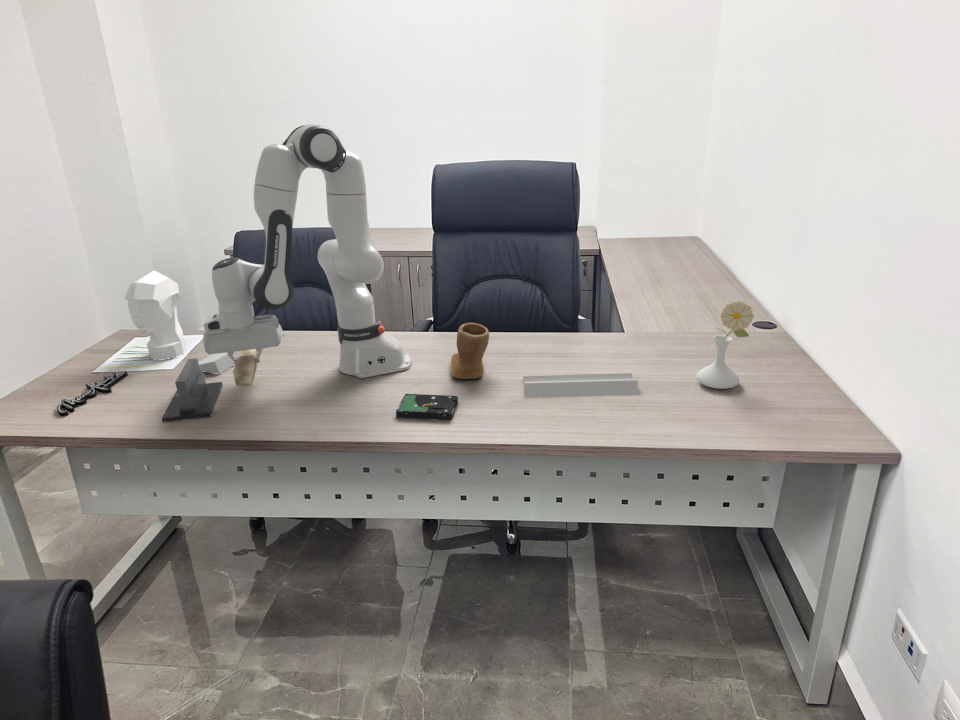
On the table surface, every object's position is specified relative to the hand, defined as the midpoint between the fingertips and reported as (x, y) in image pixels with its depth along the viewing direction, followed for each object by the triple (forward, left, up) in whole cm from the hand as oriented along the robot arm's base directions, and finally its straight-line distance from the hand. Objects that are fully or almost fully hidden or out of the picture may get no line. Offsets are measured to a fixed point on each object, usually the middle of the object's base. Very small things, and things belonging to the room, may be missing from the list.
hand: (247, 363), depth 179 cm
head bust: (+33, -37, -9) cm, 50 cm away
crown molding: (-91, +22, -10) cm, 94 cm away
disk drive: (-48, +25, -10) cm, 55 cm away
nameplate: (+46, -11, -10) cm, 49 cm away
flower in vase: (-129, +31, -9) cm, 134 cm away
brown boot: (-63, +3, -9) cm, 64 cm away
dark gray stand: (+16, +3, -9) cm, 18 cm away
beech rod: (0, 0, -2) cm, 2 cm away
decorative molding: (+8, -33, -10) cm, 35 cm away
